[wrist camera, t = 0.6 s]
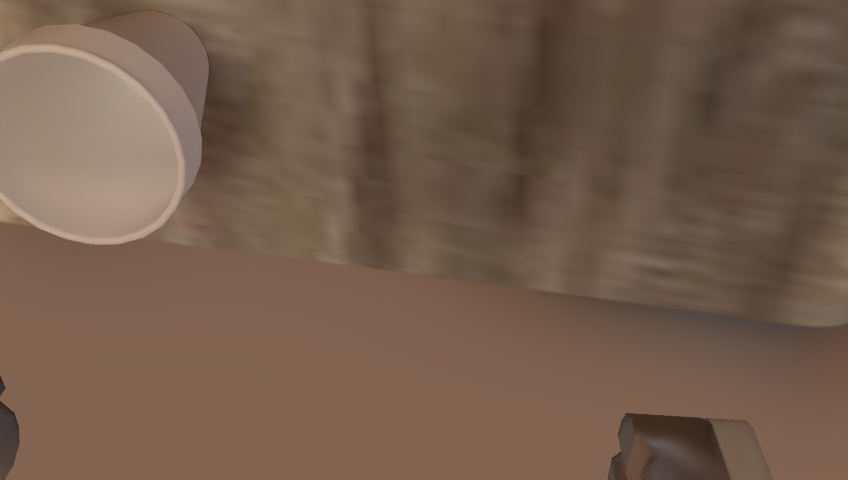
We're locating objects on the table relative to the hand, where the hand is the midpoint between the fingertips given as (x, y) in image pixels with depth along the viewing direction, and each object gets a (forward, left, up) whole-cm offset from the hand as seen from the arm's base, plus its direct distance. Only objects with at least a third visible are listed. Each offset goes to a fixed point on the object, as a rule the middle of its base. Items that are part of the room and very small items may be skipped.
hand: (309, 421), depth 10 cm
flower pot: (+15, -17, -43) cm, 49 cm away
